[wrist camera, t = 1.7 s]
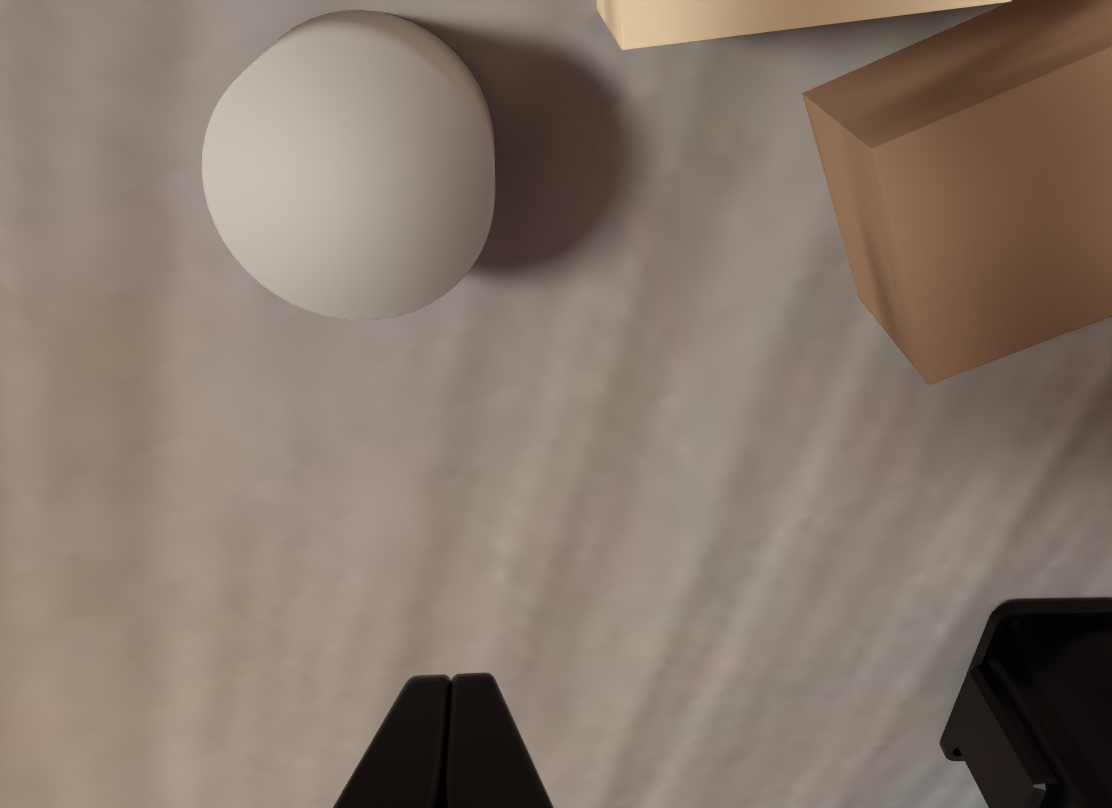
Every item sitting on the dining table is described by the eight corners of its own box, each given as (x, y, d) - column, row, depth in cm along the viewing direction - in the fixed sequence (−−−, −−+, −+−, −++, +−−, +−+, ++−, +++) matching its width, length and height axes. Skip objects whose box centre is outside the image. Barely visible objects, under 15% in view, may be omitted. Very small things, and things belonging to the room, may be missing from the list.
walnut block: (1048, -19, 17) (1183, 16, 14) (1076, 208, 20) (1196, 283, 17) (800, 92, 18) (871, 149, 15) (857, 296, 21) (929, 385, 17)
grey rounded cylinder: (494, 12, 17) (494, 42, 15) (494, 259, 20) (495, 321, 17) (224, 5, 17) (176, 34, 14) (261, 257, 19) (226, 320, 17)
